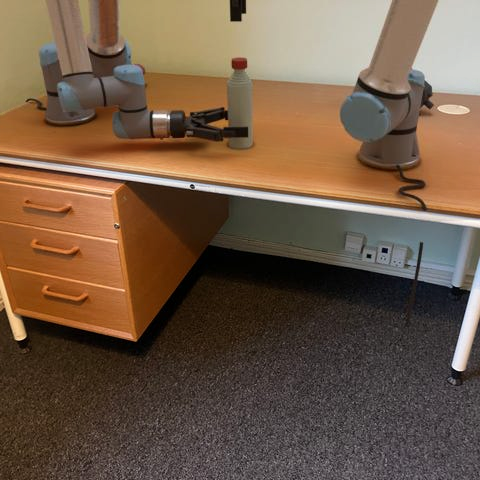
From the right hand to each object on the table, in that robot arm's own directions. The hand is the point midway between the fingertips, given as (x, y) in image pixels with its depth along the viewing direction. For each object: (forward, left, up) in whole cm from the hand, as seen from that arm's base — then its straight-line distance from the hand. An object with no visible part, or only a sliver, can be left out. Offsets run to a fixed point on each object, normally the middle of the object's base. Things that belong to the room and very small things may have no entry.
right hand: (238, 17), depth 132 cm
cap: (0, 0, -10) cm, 10 cm away
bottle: (0, 0, -33) cm, 33 cm away
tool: (+25, -53, -33) cm, 68 cm away
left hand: (-1, -2, -27) cm, 27 cm away
